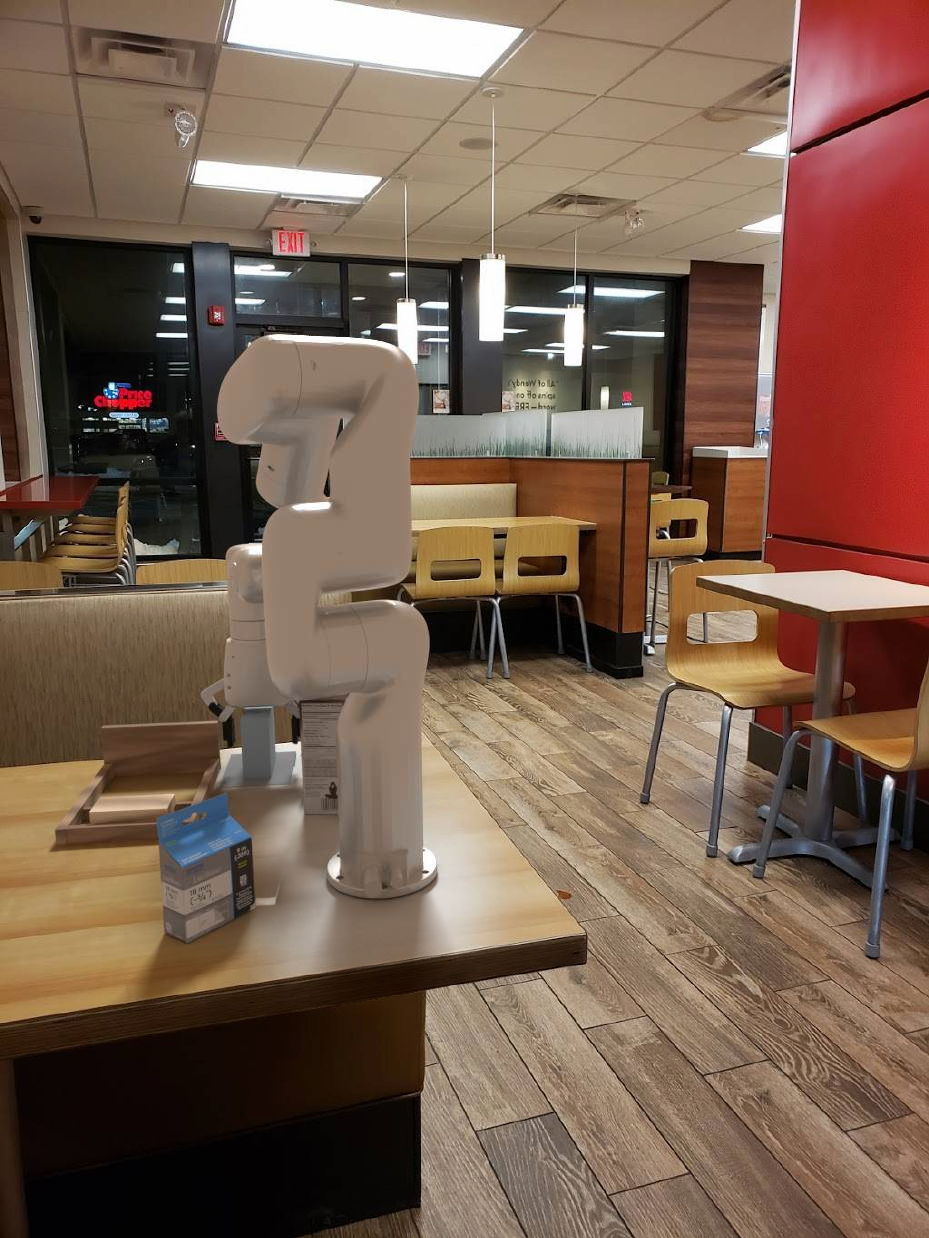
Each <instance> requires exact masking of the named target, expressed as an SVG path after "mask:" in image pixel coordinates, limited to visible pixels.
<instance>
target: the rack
mask: <svg viewBox="0 0 929 1238" xmlns="http://www.w3.org/2000/svg"><path fill="white" fill-rule="evenodd" d="M100 731H101V732H100V733H101V743H102V753H103V754H102V755H103V765H102V766H101V768H100V769H99V770H98V772H97V773H96V774H95V776H94V777H93V778H92V780H91V781H90V782H89V784H88V785H87V786H86V788H85V790H84V789H83V792H82V793H81V794H80V796H79V797H78V798H77V800H75V803H74V804H73V805H72V806H71V808H70V809H69V810H68V812H67V813H66V814H65V816H64V817H63V818H62V820H61V821H60V822H59V824H58V825H57V826H56V828H55V829H54V833H55V834H54V835H55V842H56V843H55V844H56V846H57V845H58V846H60V845H70V844H71V845H72V844H85V843H87V844H88V843H104V842H119V841H122V842H123V841H135V840H136V841H137V840H138V841H139V840H153V839H158V840H159V837H158V828H157V821H140V822H122V823H104V824H90V823H89V824H87V823H86V824H82V823H83V822H84V820H85V821H86V820H88V821H90V817H89V812H90V810H91V809H92V808H93V806H94V805H95V804H96V802H97V801H98V800H99V798H100V797H101V795H102V794H103V793H104V791H105V790H106V788H107V787H108V786H109V784H110V783H111V781H112V780H113V778H114V777H124V776H125V777H129V776H142V775H143V776H145V775H147V776H148V775H161V774H162V775H166V774H167V775H168V774H187V773H189V774H190V773H204V774H203V776H202V779H201V781H200V783H199V786H198V787H197V790H196V792H195V794H194V797H193V800H188V801H186V800H185V801H176V805H175V807H174V812H176V811H178V810H181V809H184V808H187V807H189V806H192V805H195V804H197V803H200V802H203V801H206V800H208V799H211V795H212V792H213V790H214V787H215V785H216V782H217V780H218V777H219V775H220V772H221V769H222V764H221V748H220V737H219V736H220V734H219V733H220V732H219V720H204V721H203V720H202V721H201V720H200V721H179V722H178V721H177V722H155V723H154V722H153V723H133V724H110V725H108V724H107V725H106V724H105V725H102V726H101V727H100ZM204 813H205V812H204ZM204 813H201V814H197V813H193V814H192V816H191V817H190V818H188V819H186V820H184V821H183V825H187V824H189V823H192V822H195V821H197V820H200V819H202V818H203V817H204Z"/></svg>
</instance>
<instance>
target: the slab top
mask: <svg viewBox="0 0 929 1238" xmlns="http://www.w3.org/2000/svg"><path fill="white" fill-rule="evenodd" d="M176 802H177V800H176V793H163V794H143V795H141V794H140V795H123V796H120V795H119V796H100V797H99V798H98V800H97V801H96V803H95V804H94V806H93V808H92V809H91V810H90V812H89V817H90V820H89V824H93V823H113V822H133V821H152V820H156V819H157V818H160V817H162V816H165V815H168V814H170V813H172V811H173V809H174V807H175V805H176Z"/></svg>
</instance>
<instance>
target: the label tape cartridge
mask: <svg viewBox="0 0 929 1238" xmlns="http://www.w3.org/2000/svg"><path fill="white" fill-rule="evenodd" d="M228 799H229V798H228V792H224V793H222V794H219V795H217V796H214V797H212V798H211V797H210V798H209V799H208V800H206V801H203V802H200V803H197V804H195V805H192V806H189V807H187V808H184V809H181V810H178V811H176V812H173V813H170V814H168V815H165V816H162V817H160V818H157V819H156V821H157V828H158V837H159V838H158V854H159V870H160V871H159V872H160V873H159V874H160V886H161V902H162V914H163V915H162V918H163V931H164V933H165V934H166V935H168V936H170V937H172V938H175V939H176V940H179V941H181V942H182V943H185V944H189V943H191V942H192V941H194V940H197V939H198V938H200V937H202V936H204V935H206V934H208V933H210V932H212V931H213V930H216V929H218V928H219V927H222V926H224V925H226V924H227V923H229V922H231V921H233V920H235V919H237V918H239V917H240V916H243V915H245V914H247V913H249V912H251V911H253V910H255V909H256V893H255V878H254V877H255V876H254V873H255V872H254V858H253V856H254V855H253V853H254V851H253V838H252V836H251V835H250V834H249V832H248V831H246V830H245V829H244V828H243V827H242V826H241V825H240V824H239V823H238V822H237V820H235V819H234V818H233V816H231V814H230V812H229V811H230V810H229V801H228ZM193 813H197V814H201V813H205V816H204V817H202V819H200V820H197V821H195V822H192V823H189V824H187V825H183V821H184V820H186V819H188V818H190V817H191V816H192V814H193Z"/></svg>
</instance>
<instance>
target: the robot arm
mask: <svg viewBox="0 0 929 1238" xmlns="http://www.w3.org/2000/svg"><path fill="white" fill-rule="evenodd" d="M419 406H420V387H419V380H418V375H417V371H416V368H415V366H414V363H413V362H412V359H411V358H410V357H409V355H408V354H407V353H406V352H405V351H404V350H403V349H401V348H400V347H398V346H396V345H394V344H391V343H387V342H384V341H379V340H375V339H367V338H355V337H343V336H342V337H340V336H339V337H338V336H337V337H336V336H311V335H310V336H309V335H292V334H269V335H264V336H261V337H259V338H256V339H255V340H253V342H251V343H250V344H249V346H247V348H246V349H245V350H244V351H243V352H242V354H241V355H239V357H238V358H237V359H236V360H235V361H234V363H233V364H232V366H231V367H229V370H228V371H227V372H226V374H225V376H224V379H223V380H222V383H221V386H220V389H219V393H218V398H217V407H216V413H217V421H218V426H219V429H220V431H221V434H223V436H224V438H226V440H228V441H229V442H231V443H232V444H237V445H262V446H261V449H260V450H261V452H260V457H259V461H258V469H257V473H256V477H255V478H256V479H255V486H256V490H257V492H258V494H259V495H260V496H261V497H262V499H264V500H265V502H267V503H268V504H269V505H271V506H273V507H274V508H277V509H276V510H275V511H274V512H273V513H272V515H271V516H270V517H269V518H268V519H267V523H266V524H265V528H264V530H263V535H262V540H261V543H242V544H237V545H233V546H231V547H229V548H228V549H227V551H226V553H225V568H226V569H225V570H226V584H227V599H228V614H229V616H228V617H229V628H230V629H229V630H230V637H228V638H227V639H226V641H225V642H226V643H225V647H224V659H223V660H224V662H223V663H224V664H223V665H224V666H223V678H221V679H219V680H218V681H216V682H214V683H213V684H211V685H209V686H208V687H206V688H204V689H203V690H202V691H201V692H200V698H201V699H202V700H203V702H204V703H205V705H206V706H207V707H208V711H210V712H211V713H213V714H214V715H215V716H216V717H217V718H218V721H220V722H221V723H222V725H221V726H222V727H221V728H222V740H223V741H225V742H227V748H228V749H229V748H233V747H234V745H235V743H236V730H235V717H234V716H233V712H234V711H235V710H236V709H238V708H239V709H244V708H250V707H271V706H273V707H282V706H285V708H287V709H288V710H289V711H290V712H291V714H292V715H291V720H290V721H291V722H290V725H291V726H290V727H291V739H292V740H291V744H293V745H298V744H299V740H300V738H301V734H300V713H299V700H311V699H317V698H324V697H330V696H336V695H342V694H348V693H350V694H349V696H348V698H347V700H346V701H345V703H344V705H343V707H342V710H341V712H340V715H339V718H338V721H337V726H336V762H337V790H338V814H337V815H338V817H337V818H338V841H339V843H338V844H339V851H338V852H337V853H335V854H334V855H333V856H332V857H331V858H330V859H329V860H328V862H327V865H326V878H327V881H328V882H329V884H330V886H332V887H334V889H335V890H337V891H339V892H341V893H344V894H345V895H349V896H352V897H357V898H364V899H391V898H396V897H398V898H399V897H403V896H405V895H409V894H413V893H414V892H417V891H419V890H421V889H423V888H425V887H427V886H428V885H429V884H430V883H431V882H432V881H433V880H435V878H436V876H437V875H438V874H437V872H438V860H437V858H436V855H434V853H433V852H432V851H430V850H429V849H427V848H425V847H424V811H423V809H424V807H423V760H422V759H423V752H422V751H423V749H422V748H423V747H422V742H423V737H422V736H423V735H422V731H423V730H422V725H423V724H422V722H423V721H422V709H423V708H422V707H423V696H424V695H423V694H424V693H423V692H424V684H425V678H426V672H427V666H428V662H429V661H428V660H429V654H430V632H429V629H428V624H427V622H426V620H425V618H424V617H423V615H422V613H420V611H419V610H418V609H416V607H415V606H413V605H411V604H408V603H407V602H403V601H400V600H393V599H392V600H391V599H377V600H368V601H367V600H366V601H357V602H347V603H341V604H336V605H326V606H325V605H324V606H319V605H320V600H321V597H322V596H324V595H331V594H339V593H351V592H360V591H361V592H362V591H368V590H377V589H383V588H387V587H390V586H394V585H397V584H399V583H401V582H402V581H403V580H405V578H407V576H408V574H409V572H410V569H411V566H412V560H413V558H412V557H413V531H412V530H413V527H412V520H413V519H412V487H411V485H412V482H411V480H412V479H411V452H412V445H413V438H414V434H415V428H416V426H417V425H416V423H417V420H418V412H419ZM341 419H348V422H347V423H346V425H345V426H344V427H343V429H342V430H341V432H340V434H339V435H338V431H339V426H340V422H341ZM349 419H350V420H349ZM337 435H338V437H337ZM328 473H329V487H330V488H329V491H330V492H329V498H328V497H327V496H326V494H324V490H325V485H326V481H327V478H328ZM222 690H223V693H224V694H223V695H224V701H225V706H223V705H222V704H221V703H219V701H217V700H216V698H215V697H214V695H215V694H217V693H219V692H221V691H222Z"/></svg>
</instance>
